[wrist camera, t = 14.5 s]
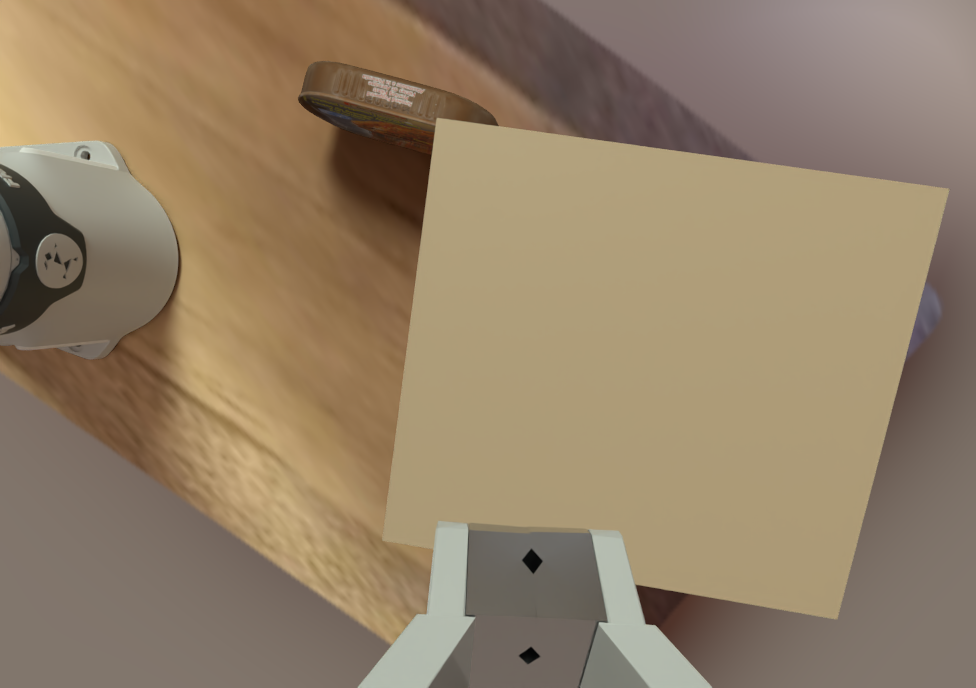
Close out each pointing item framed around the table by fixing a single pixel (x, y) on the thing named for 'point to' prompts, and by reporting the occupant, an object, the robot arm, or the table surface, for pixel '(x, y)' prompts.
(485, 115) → the tin
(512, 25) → the table surface
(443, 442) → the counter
